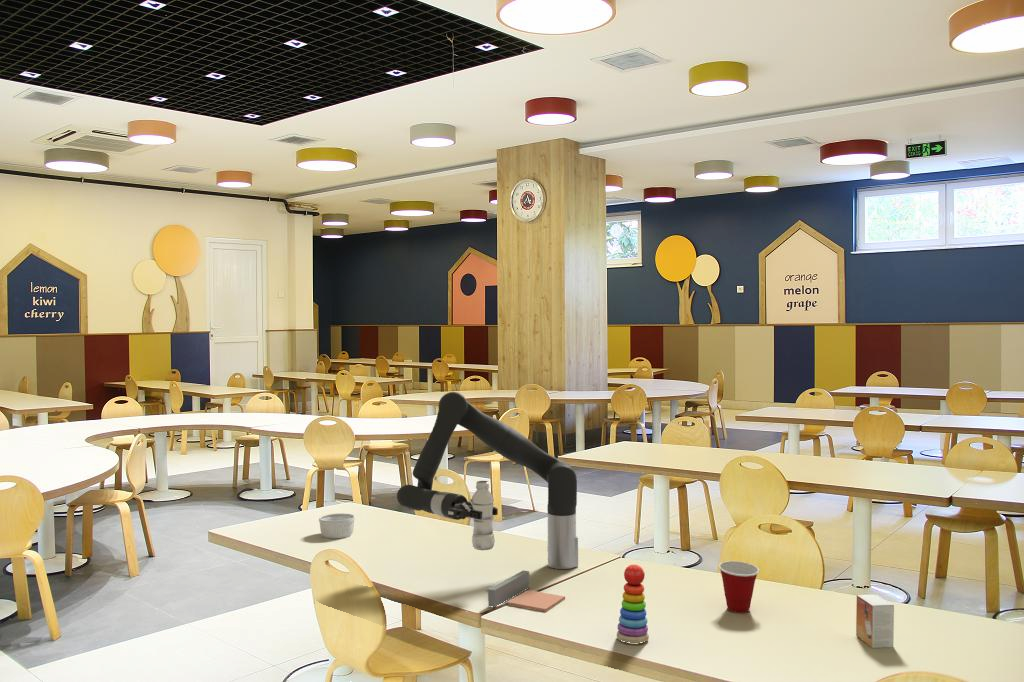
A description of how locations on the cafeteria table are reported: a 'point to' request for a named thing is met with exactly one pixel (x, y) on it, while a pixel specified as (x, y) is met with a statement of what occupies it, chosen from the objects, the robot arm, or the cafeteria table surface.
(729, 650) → the cafeteria table surface
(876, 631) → the small box
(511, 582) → the low wall
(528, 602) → the mat
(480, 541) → the plastic bottle
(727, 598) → the plastic cup
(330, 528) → the ramekin
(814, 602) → the cafeteria table surface
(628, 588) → the stacking toy
